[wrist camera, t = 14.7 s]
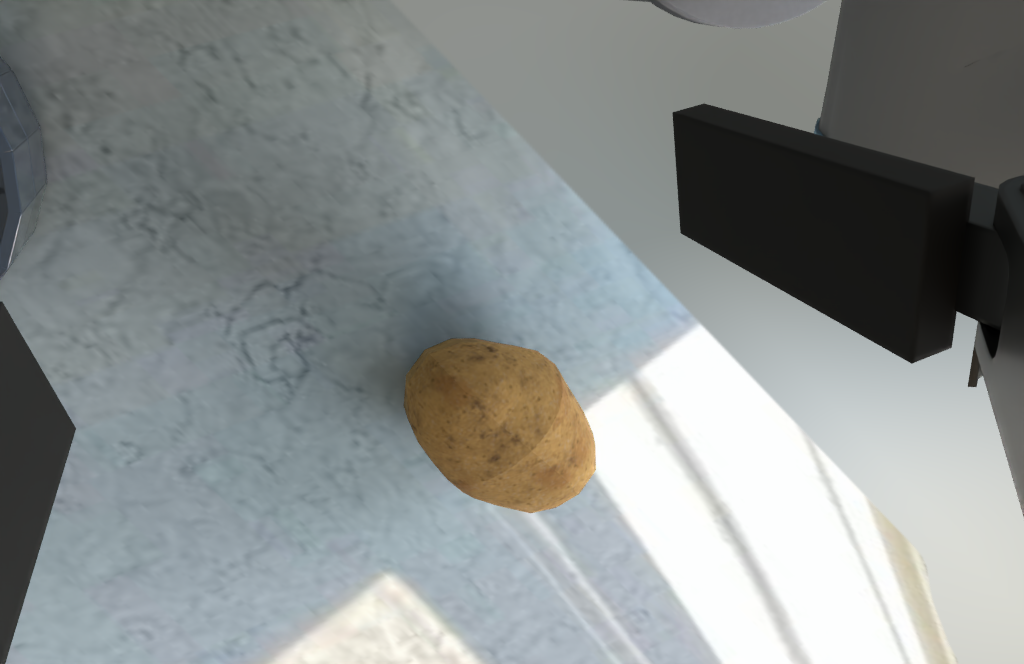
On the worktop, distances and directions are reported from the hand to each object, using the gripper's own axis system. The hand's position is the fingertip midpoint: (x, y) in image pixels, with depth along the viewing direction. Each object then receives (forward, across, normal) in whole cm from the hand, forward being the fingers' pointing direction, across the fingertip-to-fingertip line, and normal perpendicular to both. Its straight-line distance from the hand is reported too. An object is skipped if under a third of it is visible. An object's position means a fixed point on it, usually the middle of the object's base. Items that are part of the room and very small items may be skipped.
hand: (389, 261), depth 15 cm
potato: (+27, +6, -21) cm, 35 cm away
